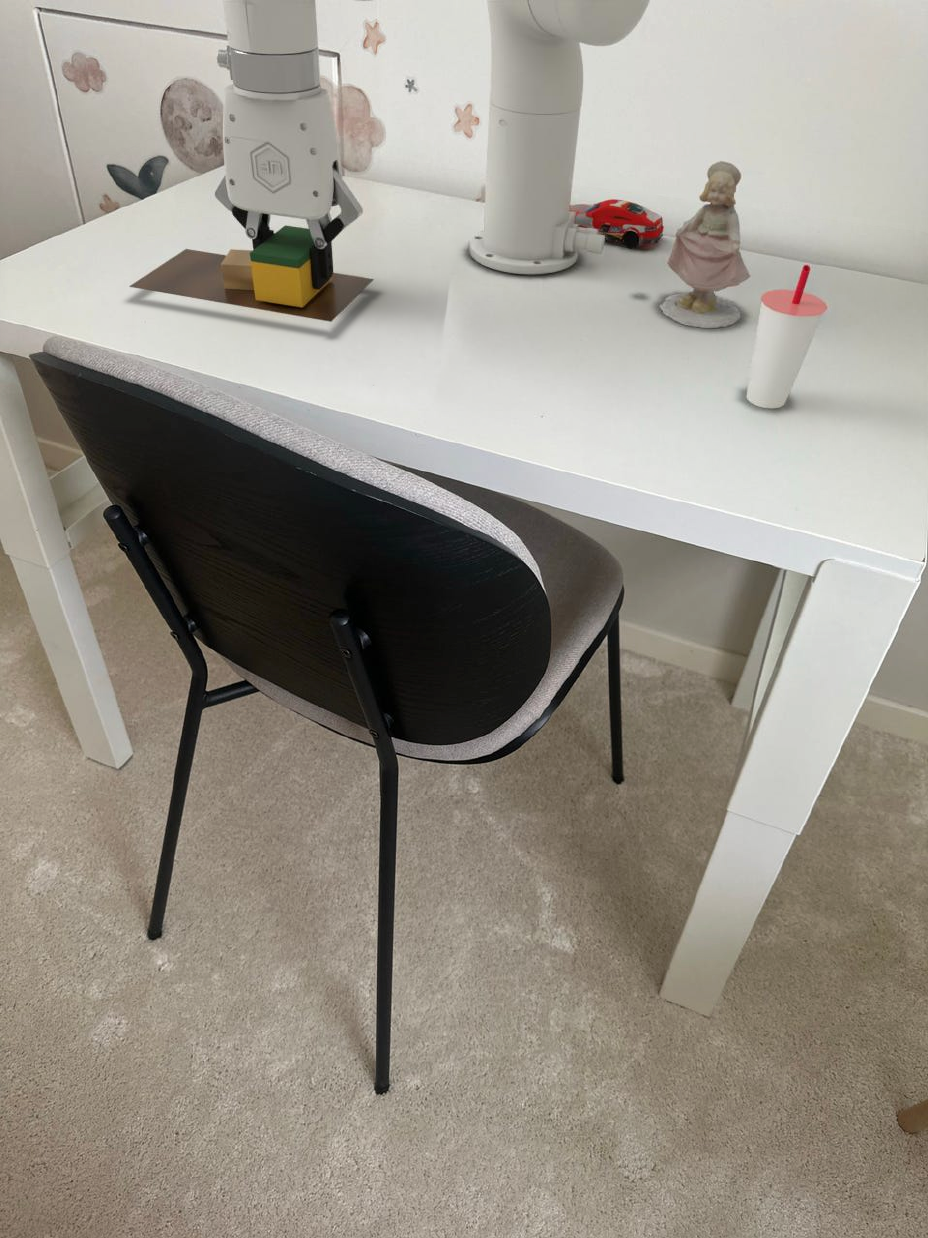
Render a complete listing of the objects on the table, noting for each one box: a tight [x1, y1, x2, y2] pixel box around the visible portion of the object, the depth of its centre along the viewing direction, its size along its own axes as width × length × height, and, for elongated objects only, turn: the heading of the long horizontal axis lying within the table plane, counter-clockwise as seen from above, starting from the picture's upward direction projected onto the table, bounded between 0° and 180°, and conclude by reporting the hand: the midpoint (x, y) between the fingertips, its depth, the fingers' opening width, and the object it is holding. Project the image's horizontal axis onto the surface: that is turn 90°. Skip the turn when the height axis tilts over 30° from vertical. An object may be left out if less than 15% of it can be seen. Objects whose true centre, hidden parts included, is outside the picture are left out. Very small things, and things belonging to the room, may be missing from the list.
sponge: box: [250, 224, 335, 307], centre depth 88 cm, size 5×8×5 cm, turn 164°
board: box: [129, 248, 374, 322], centre depth 92 cm, size 22×11×2 cm, turn 73°
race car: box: [569, 198, 664, 249], centre depth 107 cm, size 13×5×4 cm, turn 65°
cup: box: [746, 264, 828, 410], centre depth 76 cm, size 5×5×12 cm
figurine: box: [638, 160, 751, 329], centre depth 90 cm, size 11×10×15 cm
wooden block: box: [221, 248, 254, 290], centre depth 90 cm, size 4×4×2 cm
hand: (295, 278), depth 89 cm, fingers closed on sponge, 5 cm apart
